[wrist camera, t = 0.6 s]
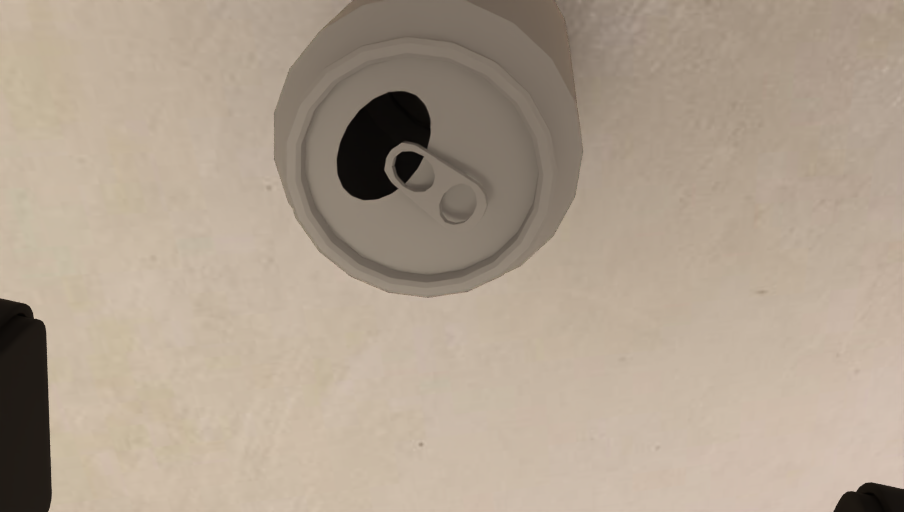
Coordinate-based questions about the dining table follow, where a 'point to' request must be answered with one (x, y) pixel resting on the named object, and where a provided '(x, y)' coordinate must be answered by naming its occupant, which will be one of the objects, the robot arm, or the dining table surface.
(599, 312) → the dining table surface
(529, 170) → the can
